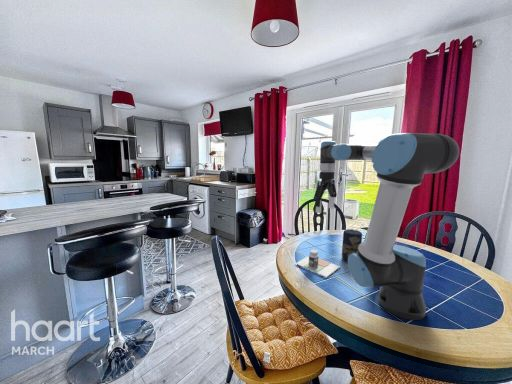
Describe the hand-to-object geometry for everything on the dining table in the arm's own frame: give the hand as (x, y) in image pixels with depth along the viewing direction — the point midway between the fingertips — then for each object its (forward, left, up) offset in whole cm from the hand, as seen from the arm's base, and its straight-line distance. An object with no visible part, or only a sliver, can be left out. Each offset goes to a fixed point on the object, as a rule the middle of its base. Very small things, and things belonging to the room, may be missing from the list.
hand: (325, 210), depth 113 cm
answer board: (-2, +9, -29) cm, 30 cm away
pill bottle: (-2, +12, -28) cm, 30 cm away
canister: (-11, -11, -29) cm, 33 cm away
